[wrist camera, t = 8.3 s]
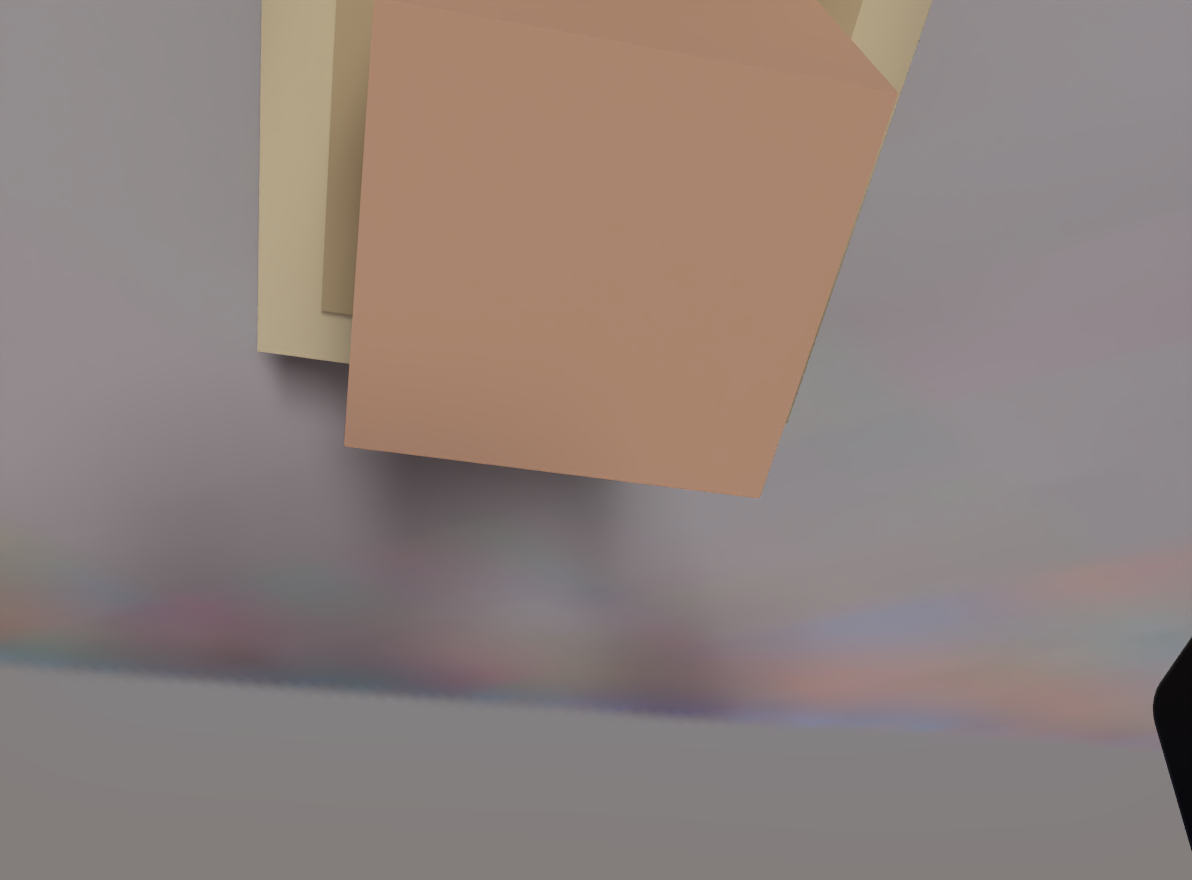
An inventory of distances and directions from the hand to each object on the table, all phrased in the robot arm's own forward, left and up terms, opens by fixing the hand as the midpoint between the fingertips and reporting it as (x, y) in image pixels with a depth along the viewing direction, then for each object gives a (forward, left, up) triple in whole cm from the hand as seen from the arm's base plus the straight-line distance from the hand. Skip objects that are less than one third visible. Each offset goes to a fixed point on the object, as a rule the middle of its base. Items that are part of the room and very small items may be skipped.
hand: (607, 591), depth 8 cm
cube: (0, 0, -10) cm, 10 cm away
